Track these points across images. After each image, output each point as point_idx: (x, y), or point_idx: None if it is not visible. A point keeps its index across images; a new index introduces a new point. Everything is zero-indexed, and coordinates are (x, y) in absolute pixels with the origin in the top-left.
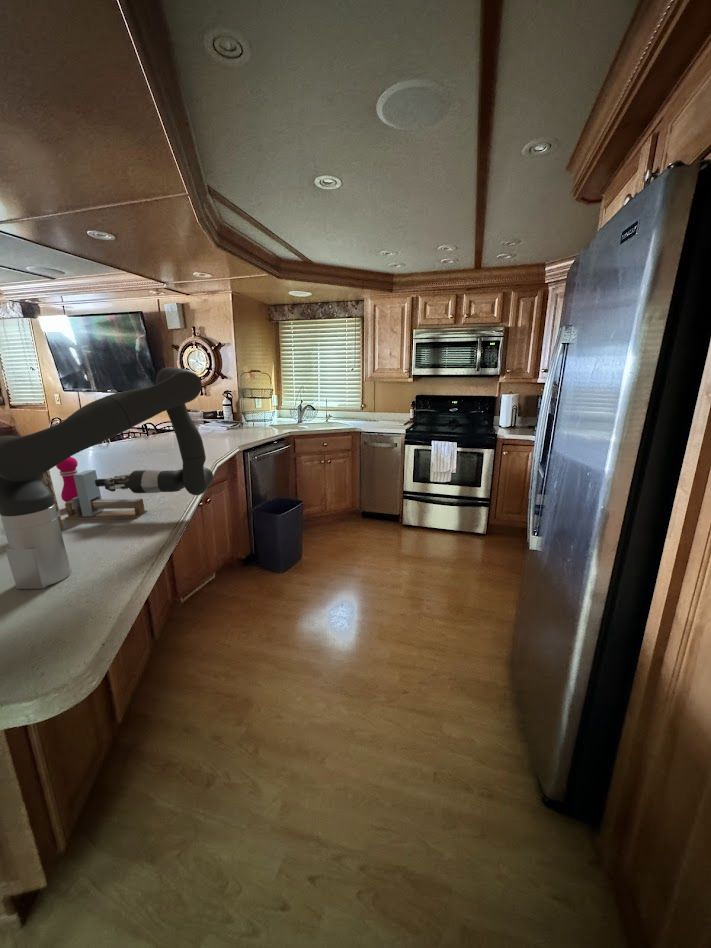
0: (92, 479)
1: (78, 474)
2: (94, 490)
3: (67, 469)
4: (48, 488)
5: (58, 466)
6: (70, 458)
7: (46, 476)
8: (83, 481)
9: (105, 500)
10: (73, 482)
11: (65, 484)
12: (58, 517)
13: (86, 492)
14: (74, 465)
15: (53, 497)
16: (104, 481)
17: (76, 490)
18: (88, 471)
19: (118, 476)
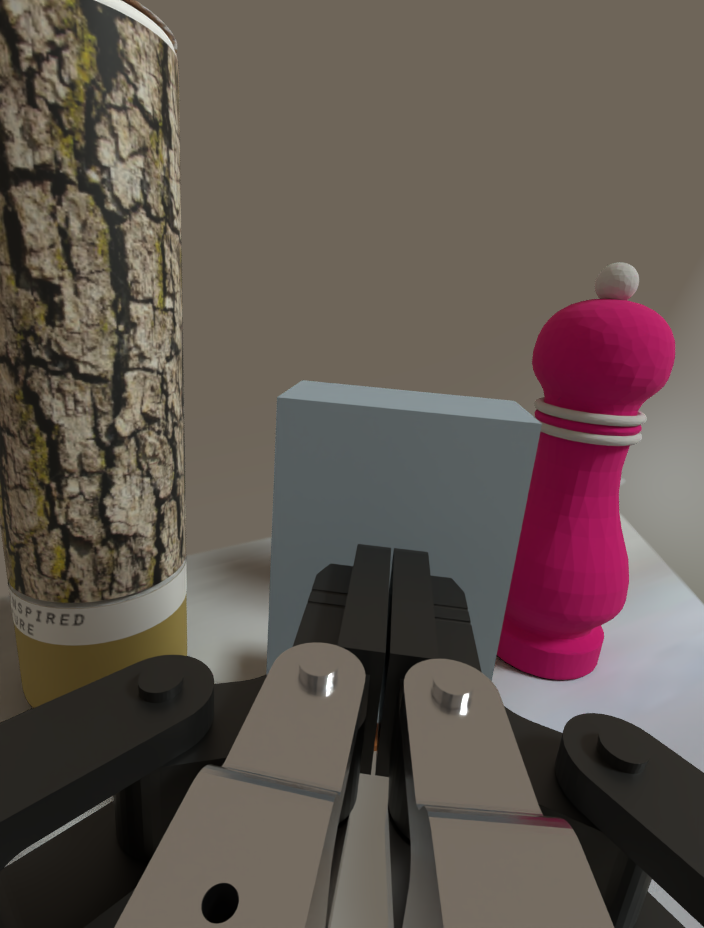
0: (425, 520)
1: (316, 388)
2: None
3: (557, 386)
4: (14, 394)
5: (533, 352)
6: (620, 311)
7: (7, 276)
8: (276, 483)
9: (369, 870)
10: (558, 493)
11: None
12: (69, 649)
13: (271, 616)
14: (612, 372)
15: (49, 488)
16: (149, 669)
17: (540, 552)
18: (457, 406)
19: (513, 880)
